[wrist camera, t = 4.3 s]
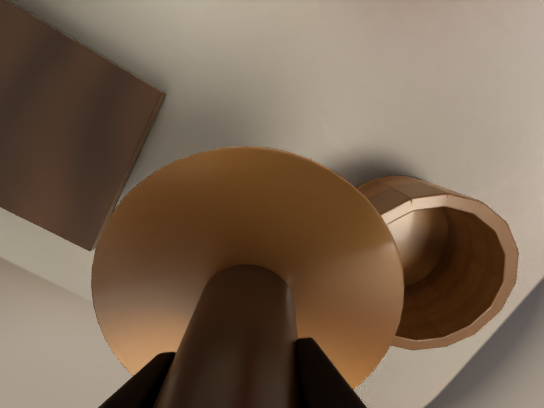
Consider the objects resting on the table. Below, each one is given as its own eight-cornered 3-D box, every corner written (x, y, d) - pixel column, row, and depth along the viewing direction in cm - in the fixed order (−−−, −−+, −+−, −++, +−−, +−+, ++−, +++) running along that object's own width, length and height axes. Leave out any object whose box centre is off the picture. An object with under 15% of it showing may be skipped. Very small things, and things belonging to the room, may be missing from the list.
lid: (392, 381, 11) (549, 718, 5) (149, 405, 12) (-2, 744, 5) (386, 123, 9) (704, 119, 2) (73, 166, 9) (-406, 264, 3)
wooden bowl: (452, 286, 21) (511, 339, 16) (331, 301, 22) (349, 358, 16) (454, 166, 19) (525, 182, 13) (318, 185, 19) (336, 208, 14)
